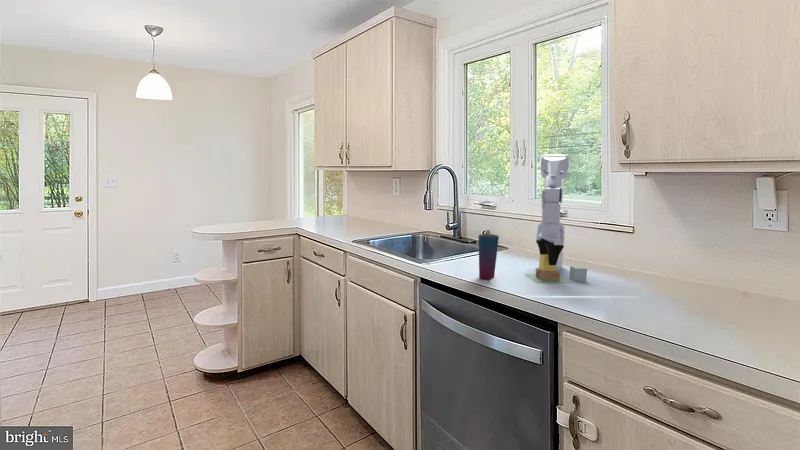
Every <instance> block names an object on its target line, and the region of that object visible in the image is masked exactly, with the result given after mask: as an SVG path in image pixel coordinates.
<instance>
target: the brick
mask: <svg viewBox="0 0 800 450" xmlns="http://www.w3.org/2000/svg"><path fill="white" fill-rule="evenodd" d="M587 275H588V268H587V267H584V266H582V265H570V267H569V279H570V280H571V281H573V282H587V279H588V276H587Z"/></svg>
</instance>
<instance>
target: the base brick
mask: <svg viewBox="0 0 800 450" xmlns="http://www.w3.org/2000/svg"><path fill="white" fill-rule="evenodd" d="M535 274H536V277H538V278H539V279H540V280H542V281H560V276H561V272H560V270H556V269H555V271H542V270H541V269H539V268H535Z"/></svg>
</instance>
